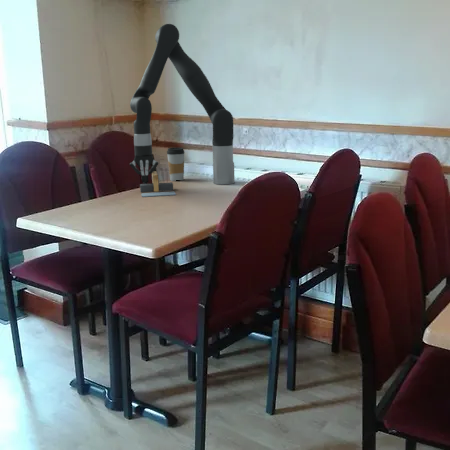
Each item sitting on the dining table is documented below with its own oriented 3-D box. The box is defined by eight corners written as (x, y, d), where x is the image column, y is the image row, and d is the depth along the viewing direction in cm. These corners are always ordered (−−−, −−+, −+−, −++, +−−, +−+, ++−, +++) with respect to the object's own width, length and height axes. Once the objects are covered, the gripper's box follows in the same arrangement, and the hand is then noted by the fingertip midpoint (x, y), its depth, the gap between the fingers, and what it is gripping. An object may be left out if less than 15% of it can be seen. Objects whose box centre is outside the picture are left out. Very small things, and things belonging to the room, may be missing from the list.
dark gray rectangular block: (172, 189, 251) (172, 182, 251) (173, 191, 248) (173, 183, 247) (140, 191, 249) (139, 184, 248) (140, 193, 245) (140, 185, 245)
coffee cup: (166, 179, 275) (164, 148, 271) (183, 178, 277) (182, 147, 273) (170, 182, 267) (168, 150, 263) (187, 180, 269) (186, 149, 266)
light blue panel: (174, 192, 243) (174, 191, 243) (175, 195, 238) (175, 194, 237) (141, 194, 241) (141, 193, 241) (141, 197, 235) (141, 196, 235)
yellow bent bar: (157, 187, 255) (156, 171, 253) (158, 191, 245) (157, 175, 243) (152, 187, 254) (151, 171, 252) (154, 191, 245) (153, 175, 243)
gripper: (157, 142, 252) (159, 181, 256) (127, 143, 250) (129, 182, 254) (158, 144, 245) (160, 184, 249) (127, 145, 243) (130, 185, 247)
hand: (145, 183), depth 252 cm, fingers closed
